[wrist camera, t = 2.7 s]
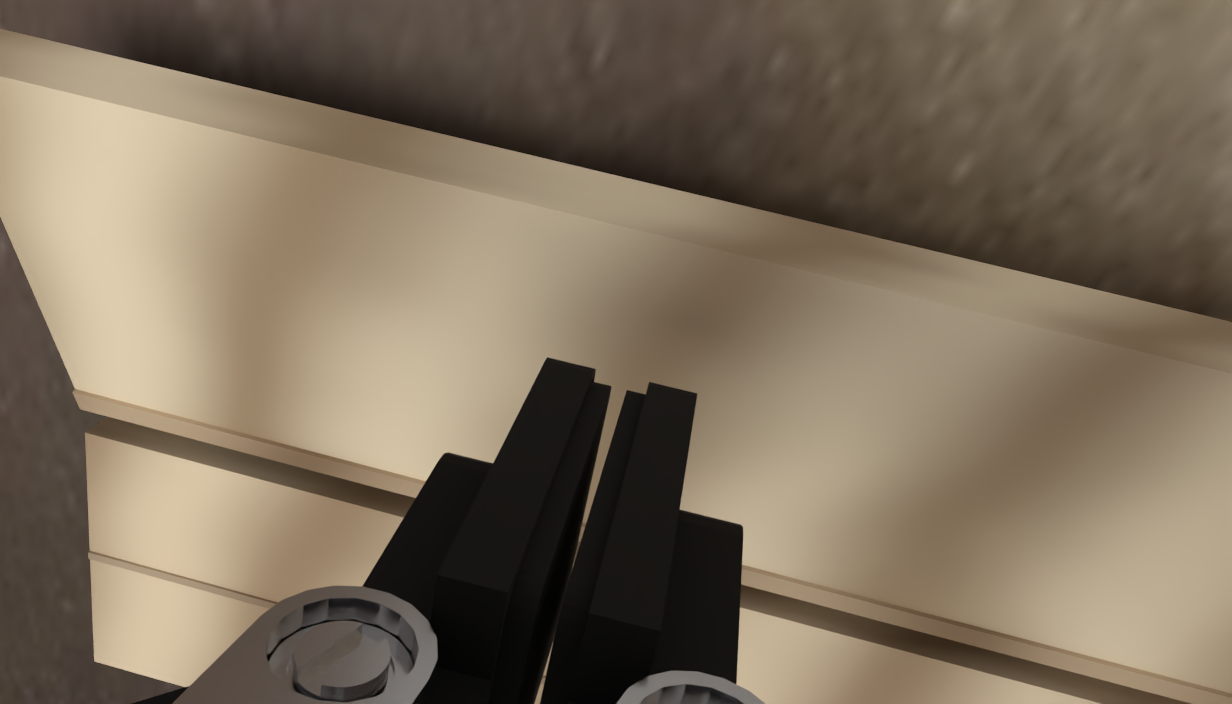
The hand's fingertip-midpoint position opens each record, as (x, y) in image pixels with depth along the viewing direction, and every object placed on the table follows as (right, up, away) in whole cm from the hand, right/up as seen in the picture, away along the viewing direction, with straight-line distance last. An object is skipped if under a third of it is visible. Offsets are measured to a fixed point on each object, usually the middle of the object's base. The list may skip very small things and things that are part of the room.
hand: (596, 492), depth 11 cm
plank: (+1, +1, +8) cm, 9 cm away
